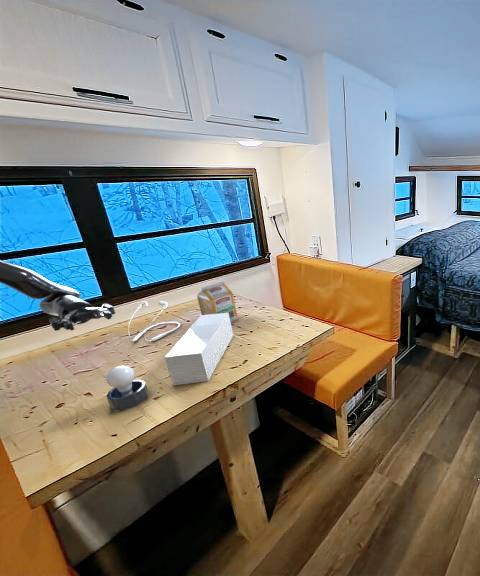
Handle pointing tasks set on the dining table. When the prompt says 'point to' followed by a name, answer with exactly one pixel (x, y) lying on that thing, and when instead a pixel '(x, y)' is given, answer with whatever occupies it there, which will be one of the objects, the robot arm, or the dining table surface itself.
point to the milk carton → (217, 300)
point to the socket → (131, 400)
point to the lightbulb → (121, 379)
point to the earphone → (153, 325)
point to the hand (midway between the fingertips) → (91, 321)
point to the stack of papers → (199, 349)
